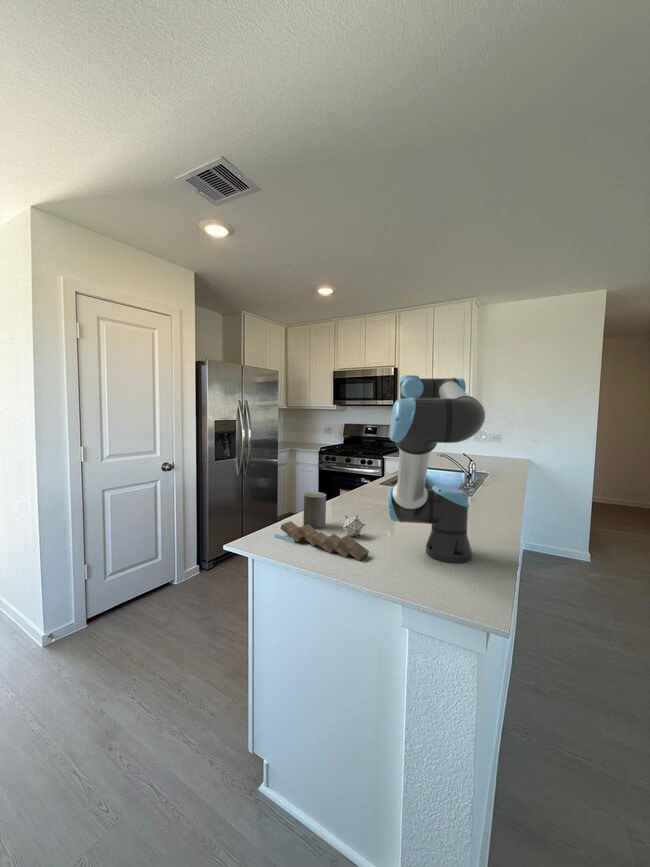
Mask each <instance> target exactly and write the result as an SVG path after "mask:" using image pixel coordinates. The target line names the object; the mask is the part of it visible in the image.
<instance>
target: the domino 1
mask: <svg viewBox="0 0 650 867" xmlns="http://www.w3.org/2000/svg"><path fill="white" fill-rule="evenodd" d="M274 538H275V539H278V540H282V541H286V542H289V543H293V544H295V543H298V542H297V541H296V540H294V539H293V538H292V537H290V536H289V535H288V534H287V533H285V532H284V531H283V530H281V531H280V532H279V531H278V532H277V533H274Z"/></svg>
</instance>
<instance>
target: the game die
mask: <svg viewBox="0 0 650 867" xmlns="http://www.w3.org/2000/svg"><path fill="white" fill-rule="evenodd" d="M344 516H345V521H344V523H343V526H341V527H340V529H343V530H344V531H345V533H346V535H348V536H349V537H354V536H358V537H361V535H360V533H361V531H362V529H363V527H364V526H366V524H364V523H362V522H361V521H360V519H359V517H358V514H357V515H356V516H352V517H351V516H349V517H348V516H347V515H344Z"/></svg>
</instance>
